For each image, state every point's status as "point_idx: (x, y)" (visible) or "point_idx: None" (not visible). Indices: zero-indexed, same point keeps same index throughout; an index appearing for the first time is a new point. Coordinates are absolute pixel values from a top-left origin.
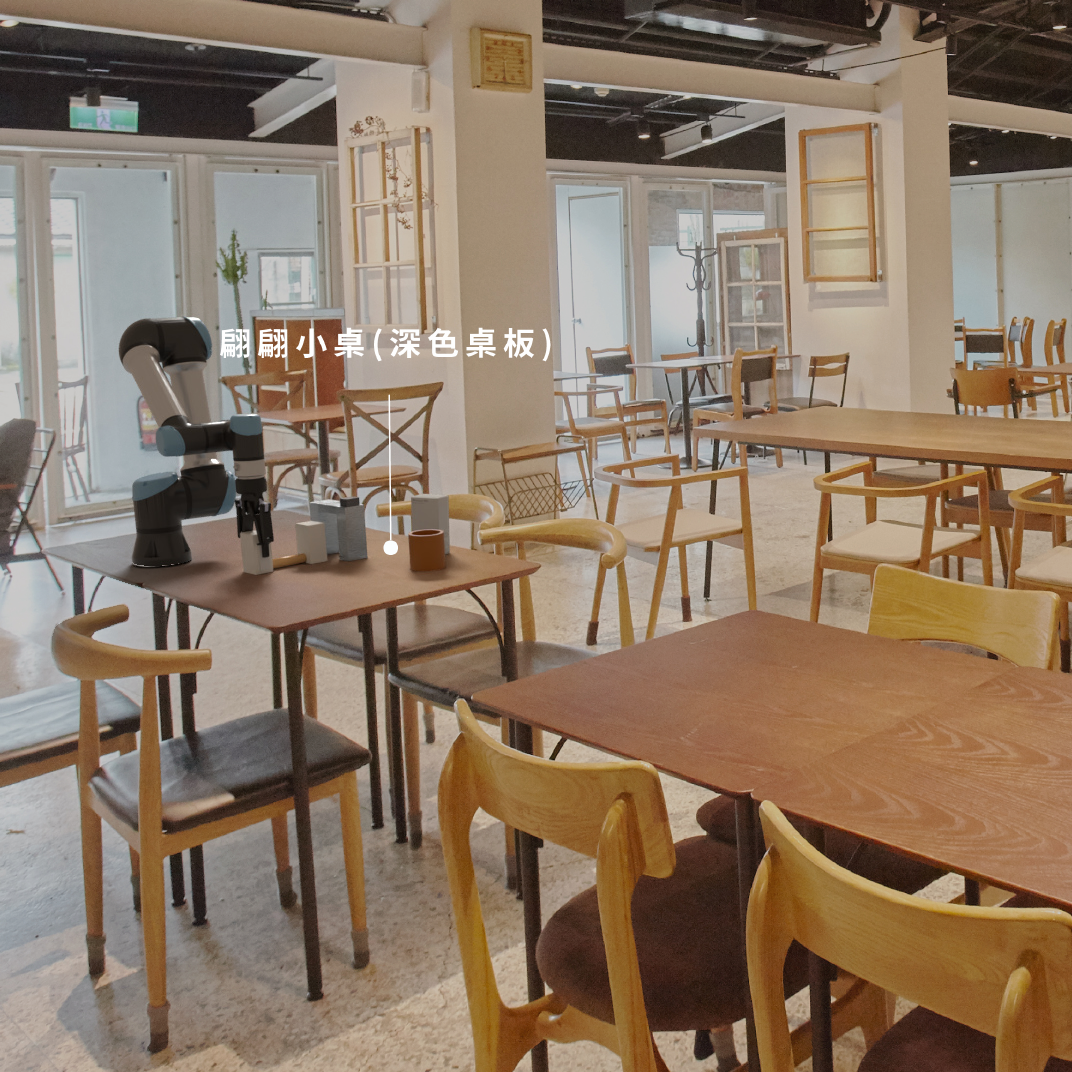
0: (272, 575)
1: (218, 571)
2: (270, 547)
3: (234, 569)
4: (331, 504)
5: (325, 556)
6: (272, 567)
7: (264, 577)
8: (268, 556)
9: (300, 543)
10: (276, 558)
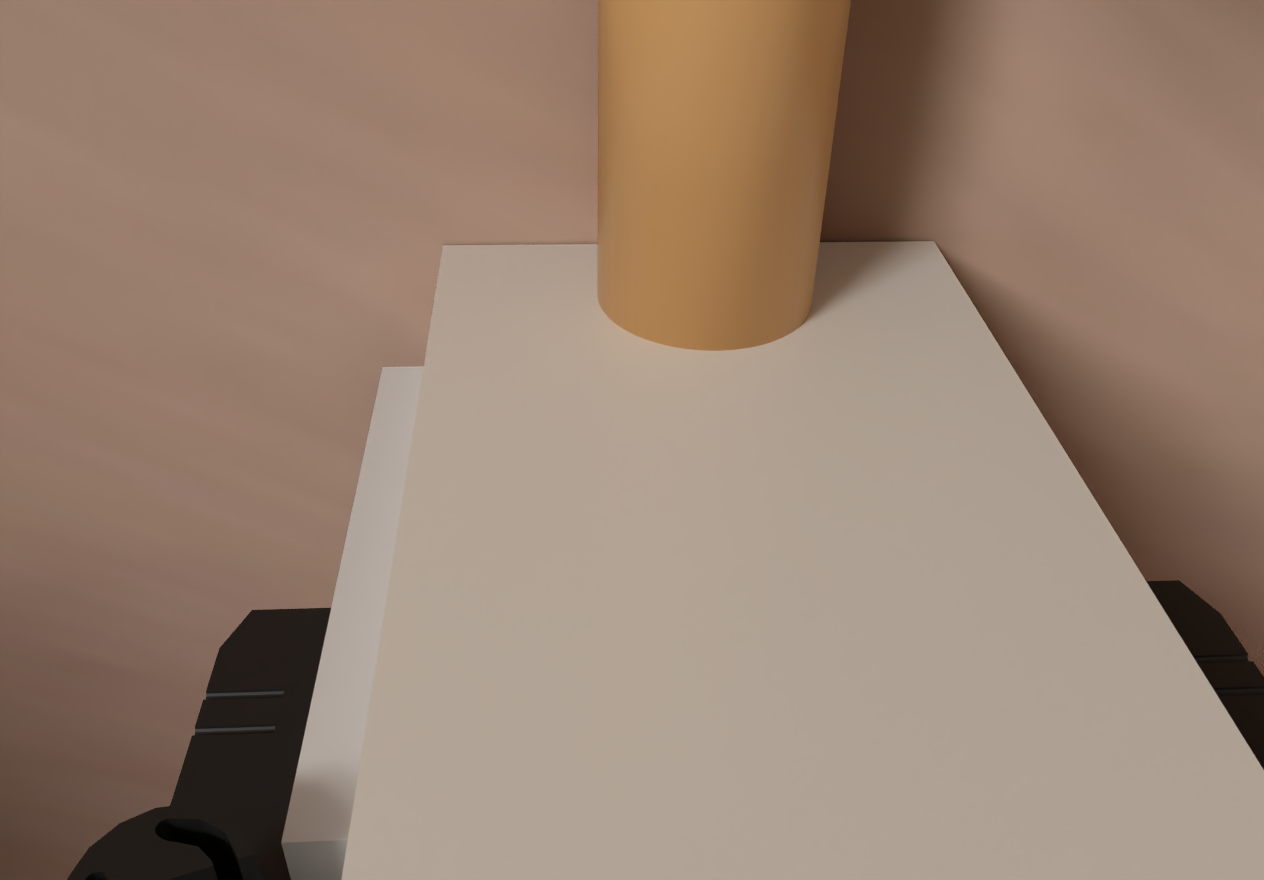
0: (1180, 411)
1: (103, 734)
2: (1139, 608)
3: (122, 553)
4: None
5: None
6: (954, 291)
7: (1158, 546)
8: (1179, 604)
9: None
10: (753, 75)
